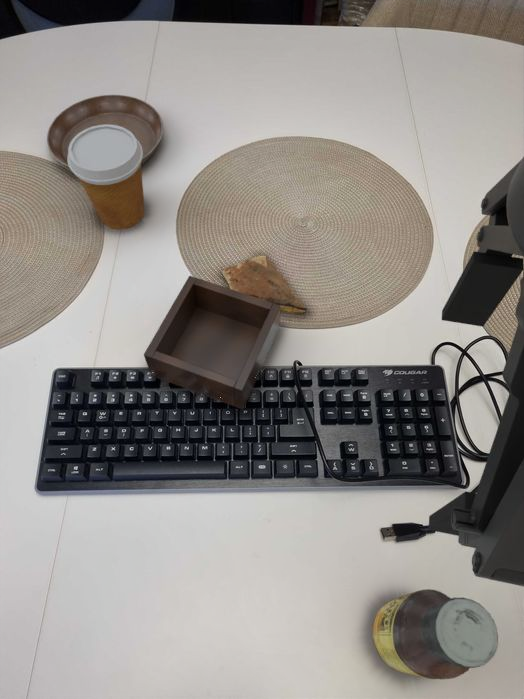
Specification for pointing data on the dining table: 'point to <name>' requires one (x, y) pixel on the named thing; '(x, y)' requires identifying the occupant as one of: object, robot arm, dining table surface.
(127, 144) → the disposable coffee cup
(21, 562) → the dining table surface
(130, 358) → the dining table surface
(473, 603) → the sauce bottle
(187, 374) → the box
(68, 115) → the plant saucer
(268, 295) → the quesadilla slice
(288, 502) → the dining table surface
